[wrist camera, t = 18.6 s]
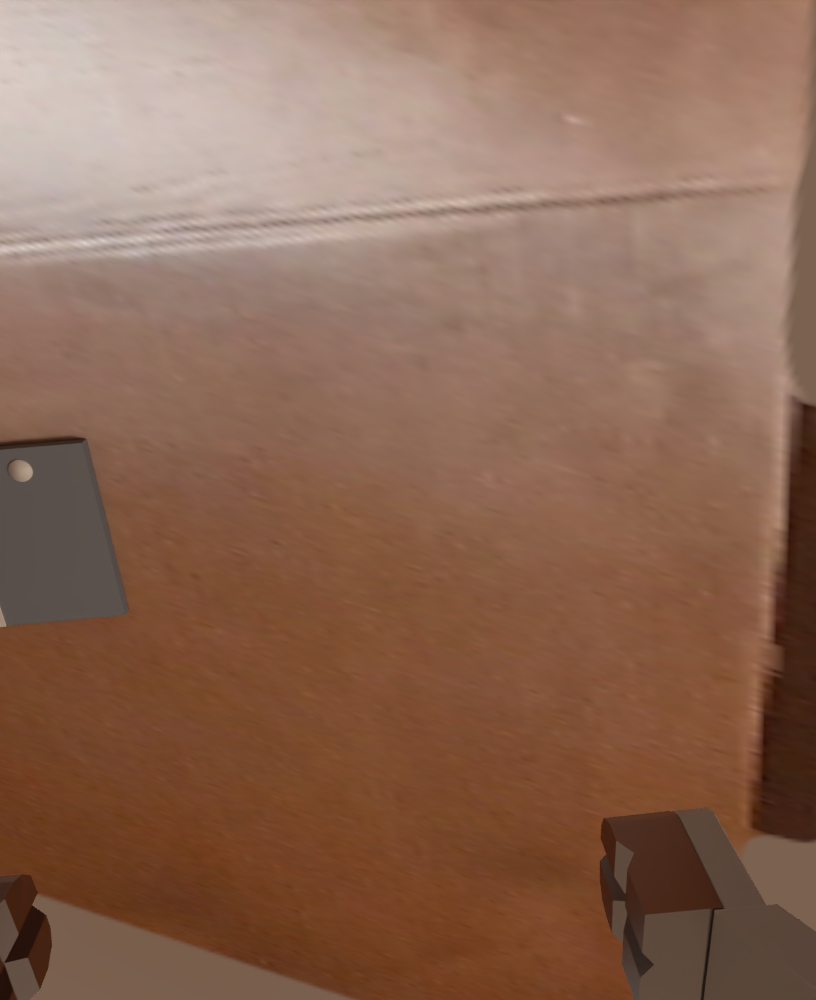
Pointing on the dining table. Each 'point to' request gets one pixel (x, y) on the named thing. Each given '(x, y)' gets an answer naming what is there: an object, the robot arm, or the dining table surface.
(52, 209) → the dining table surface
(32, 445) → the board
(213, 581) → the dining table surface
